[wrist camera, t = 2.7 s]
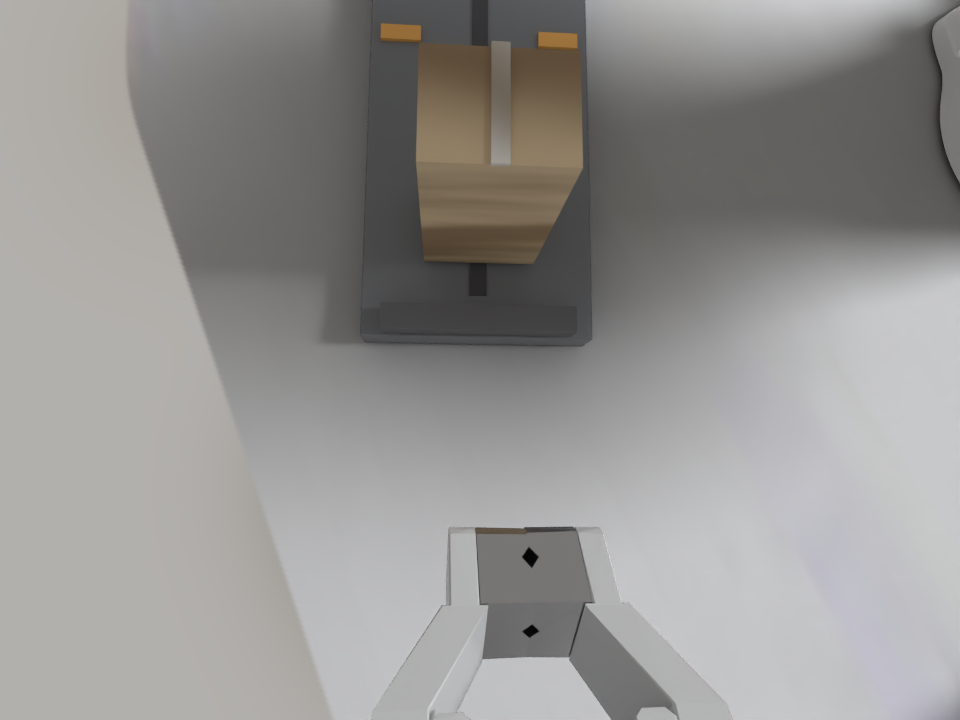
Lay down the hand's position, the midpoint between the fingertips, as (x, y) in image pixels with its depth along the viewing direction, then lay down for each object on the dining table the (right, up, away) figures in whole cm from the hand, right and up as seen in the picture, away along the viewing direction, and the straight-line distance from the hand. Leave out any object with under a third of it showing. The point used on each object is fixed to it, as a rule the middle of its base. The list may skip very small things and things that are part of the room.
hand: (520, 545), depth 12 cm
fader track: (-1, +17, +20) cm, 26 cm away
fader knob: (-1, +10, +17) cm, 20 cm away
